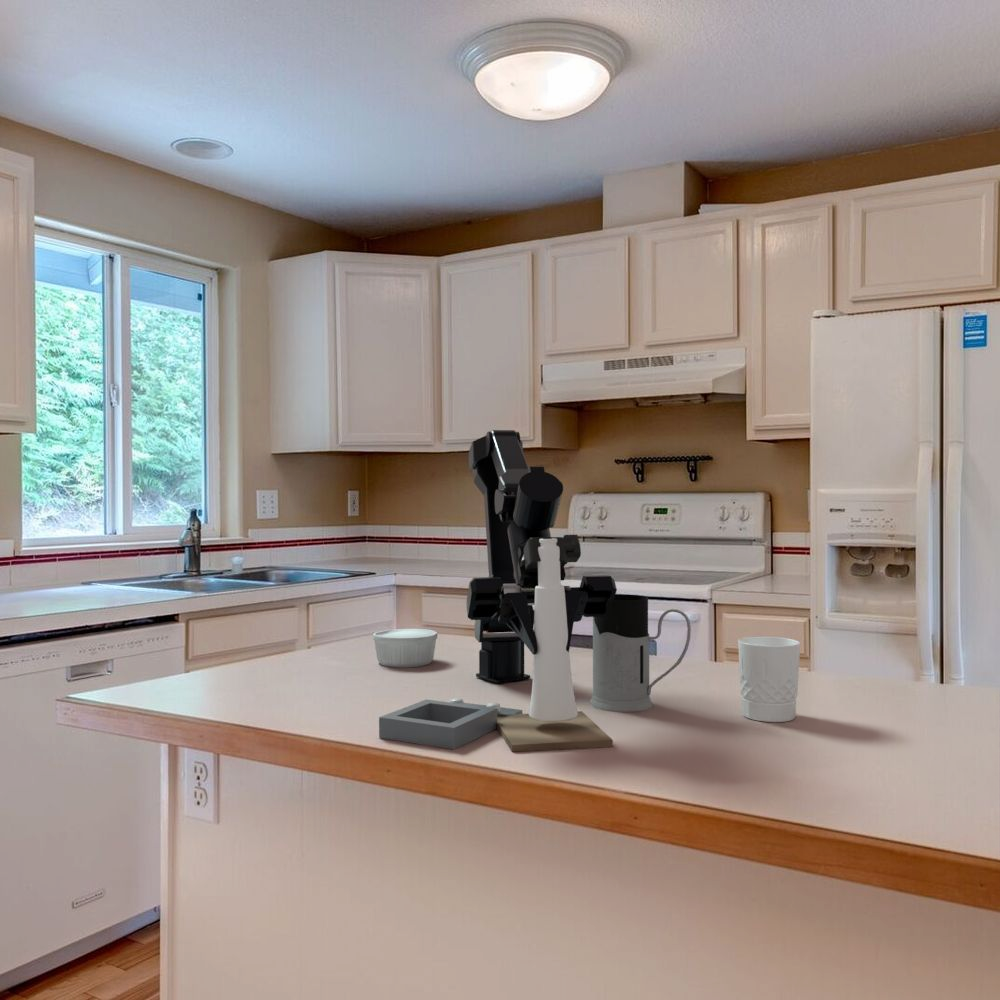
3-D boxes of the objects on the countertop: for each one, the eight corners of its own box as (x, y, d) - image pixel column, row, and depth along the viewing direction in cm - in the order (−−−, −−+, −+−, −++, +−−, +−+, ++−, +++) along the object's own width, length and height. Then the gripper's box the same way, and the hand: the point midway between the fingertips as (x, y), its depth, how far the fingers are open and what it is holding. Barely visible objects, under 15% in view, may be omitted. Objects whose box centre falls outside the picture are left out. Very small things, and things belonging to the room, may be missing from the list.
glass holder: (602, 694, 135) (602, 592, 135) (698, 704, 129) (698, 597, 128) (580, 707, 127) (580, 599, 127) (681, 718, 121) (682, 604, 121)
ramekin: (382, 656, 166) (382, 627, 166) (443, 657, 165) (443, 628, 165) (365, 668, 155) (365, 637, 155) (430, 670, 154) (429, 638, 154)
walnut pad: (492, 721, 120) (492, 715, 120) (581, 717, 122) (581, 711, 122) (511, 751, 106) (511, 744, 106) (612, 746, 108) (612, 739, 108)
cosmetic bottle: (554, 725, 110) (549, 541, 109) (518, 716, 114) (513, 539, 113) (587, 714, 114) (582, 537, 113) (552, 707, 118) (547, 536, 118)
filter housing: (454, 707, 127) (453, 689, 127) (522, 716, 122) (522, 697, 122) (379, 737, 112) (379, 717, 112) (453, 749, 107) (453, 727, 107)
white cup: (767, 726, 117) (767, 648, 117) (725, 713, 124) (725, 639, 124) (813, 719, 120) (813, 643, 120) (769, 706, 127) (769, 634, 127)
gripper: (469, 513, 116) (482, 614, 105) (612, 512, 119) (639, 610, 108) (461, 570, 124) (473, 668, 113) (596, 567, 127) (619, 663, 116)
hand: (551, 652), depth 112 cm, fingers closed on cosmetic bottle, 4 cm apart
